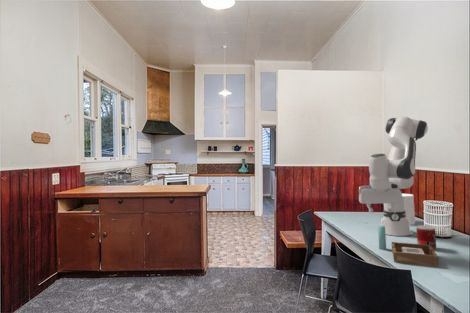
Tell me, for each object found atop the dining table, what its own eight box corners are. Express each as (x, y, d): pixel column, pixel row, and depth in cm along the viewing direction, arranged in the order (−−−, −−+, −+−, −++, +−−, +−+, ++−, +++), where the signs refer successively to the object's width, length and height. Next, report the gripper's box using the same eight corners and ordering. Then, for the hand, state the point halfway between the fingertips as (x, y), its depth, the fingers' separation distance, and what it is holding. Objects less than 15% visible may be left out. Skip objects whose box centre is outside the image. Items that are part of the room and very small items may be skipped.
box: (392, 251, 134) (391, 241, 134) (431, 255, 126) (430, 245, 126) (394, 263, 119) (393, 252, 120) (438, 268, 112) (437, 256, 112)
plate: (402, 254, 128) (401, 246, 128) (422, 256, 125) (421, 248, 125) (403, 259, 121) (403, 252, 121) (425, 262, 117) (424, 254, 118)
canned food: (430, 252, 131) (429, 229, 131) (414, 247, 138) (412, 226, 138) (440, 249, 134) (438, 227, 134) (423, 245, 141) (422, 224, 142)
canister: (414, 226, 180) (412, 196, 181) (387, 223, 190) (385, 195, 190) (415, 221, 193) (414, 193, 193) (390, 219, 202) (389, 193, 203)
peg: (379, 248, 139) (377, 225, 140) (386, 249, 138) (384, 225, 138) (379, 250, 137) (378, 226, 137) (386, 251, 135) (385, 227, 135)
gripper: (360, 186, 136) (361, 213, 136) (403, 185, 134) (404, 212, 133) (356, 185, 142) (357, 211, 142) (396, 184, 140) (398, 210, 140)
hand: (380, 212), depth 138 cm, fingers open, 8 cm apart
